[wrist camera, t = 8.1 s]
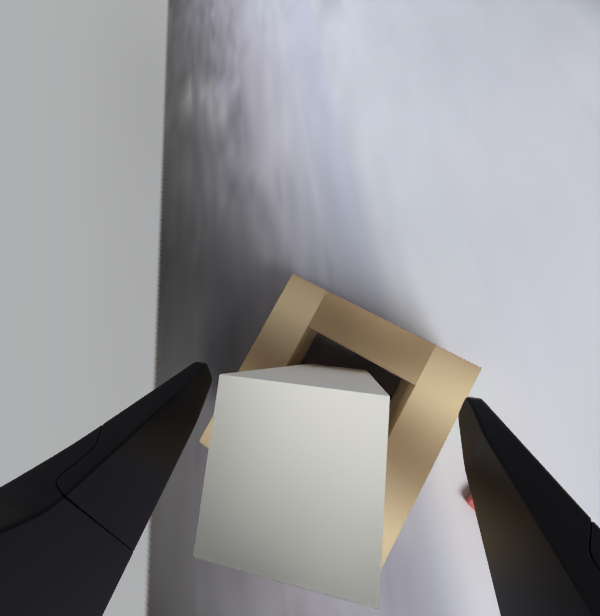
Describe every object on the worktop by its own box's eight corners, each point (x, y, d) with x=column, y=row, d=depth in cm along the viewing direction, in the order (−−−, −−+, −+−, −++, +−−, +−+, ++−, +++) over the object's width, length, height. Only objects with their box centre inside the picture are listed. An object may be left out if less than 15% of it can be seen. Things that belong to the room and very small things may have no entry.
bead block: (372, 522, 16) (377, 575, 12) (231, 423, 18) (199, 441, 15) (452, 365, 16) (481, 367, 13) (305, 290, 19) (292, 273, 15)
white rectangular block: (362, 429, 17) (378, 609, 5) (304, 420, 18) (193, 557, 5) (365, 369, 17) (390, 396, 5) (310, 363, 18) (219, 373, 6)
